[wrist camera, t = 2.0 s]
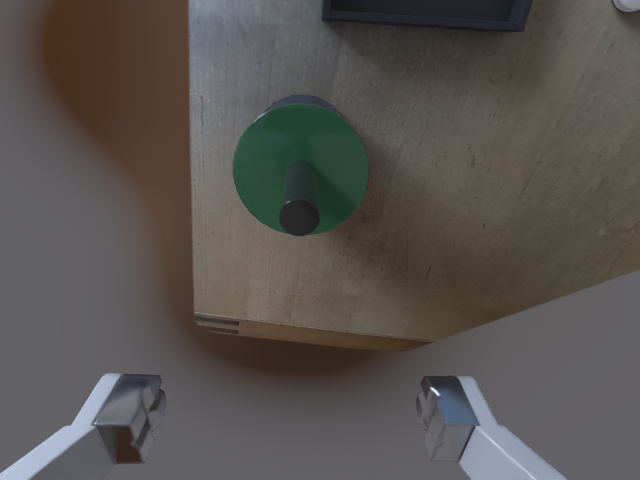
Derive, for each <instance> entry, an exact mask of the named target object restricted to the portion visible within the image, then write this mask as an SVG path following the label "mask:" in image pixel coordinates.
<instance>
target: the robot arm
mask: <svg viewBox="0 0 640 480" xmlns="http://www.w3.org/2000/svg"><path fill="white" fill-rule="evenodd" d="M161 383H162V381H161V378H160V375H143V374H105V375H104V376H103V377H102V378H101V379H100V380H99V382H98V384H97V385H96V387H95V388H94V390H93V391H92V393H91V395H90V396H89V398H88V400H87V401H86V403H85V404H84V406H83V407H82V409H81V411H80V412H79V414H78V415H77V417H76V418H75V420H74V422H73V423H72V425H71V426H65V427H63V428H62V429H61V430H59V431H58V432H56V433H55V434H54V435H52V436H51V437H50V438H49V439H47V440H46V441H44V442H43V443H42V444H40V445H39V446H37V447H36V448H35V449H33V450H32V451H31V452H29V453H28V454H27V455H25V456H24V457H22V458H21V459H20V460H18V461H17V462H16V463H14V464H13V465H11V466H10V467H9V468H8V469H6V470H5V471H3V472H2V473H1V474H0V480H102V479H103V478H104V477H105V476H106V475H107V473H108V472H109V471H110V470H111V469H112V468H113V467H114V464H135V463H136V464H138V463H145V462H146V460H147V458H148V455H149V453H150V450H151V447H152V445H153V442H154V436H153V433H152V432H153V431H154V430H155V429H156V428H157V427H158V426H160V424H161V422H162V419H163V416H164V412H165V407H166V396H165V392H164V391H163V390H161V389H160V386H161ZM421 387H422V390H421V391H420V392H419V393H418V394H417V398H416V411H417V417H418V421H419V424H420V425H421V427H423V428H424V430H426V434H425V437H424V441H425V444H426V447H427V451H428V454H429V457H430V461H432V462H433V461H434V462H459V465H460V466H461V467H462V469H463V470H464V471H465V472H466V473H467V474H468V476H469V477H470V478H471V479H472V480H567V479H566V478H565V477H563V476H562V475H561V474H560V473H559V472H558V471H556V470H555V469H554V468H553V467H552V466H550V465H549V464H548V463H547V462H546V461H544V460H543V459H542V458H541V457H540V456H539V455H537V454H536V453H535V452H534V451H533V450H532V449H530V448H529V447H528V446H527V445H526V444H524V443H523V442H522V441H521V440H520V439H518V438H517V437H516V436H515V435H514V434H512V433H511V432H510V431H509V430H508V429H507V428H505V427H504V426H498V424H497V422H496V420H495V418H494V416H493V414H492V412H491V410H490V408H489V406H488V404H487V402H486V401H485V398H484V396H483V395H482V393H481V391H480V389H479V387H478V385H477V383H476V381H475V379H474V378H473V377H471V376H424V377H423V378H422V381H421Z"/></svg>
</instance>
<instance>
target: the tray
mask: <svg viewBox="0 0 640 480" xmlns="http://www.w3.org/2000/svg"><path fill="white" fill-rule="evenodd" d="M531 3H532V0H323V2H322V21H335V22H351V23H367V24H383V25H398V26H414V27H430V28H446V29H462V30H478V31H494V32H520V31H523V30H524V27H525V23H526V20H527V17H528V13H529V10H530V6H531Z"/></svg>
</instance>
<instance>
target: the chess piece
mask: <svg viewBox="0 0 640 480" xmlns="http://www.w3.org/2000/svg"><path fill="white" fill-rule="evenodd" d="M613 3H614V4H615V6H616V7H617V8H618V9H620V10H622V11H625V12H633V11H637V10H640V0H613Z"/></svg>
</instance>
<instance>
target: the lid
mask: <svg viewBox="0 0 640 480" xmlns="http://www.w3.org/2000/svg"><path fill="white" fill-rule="evenodd" d="M233 177H234V183H235V186H236V190H237V192H238V195H239V197H240V199H241V200H242V202H243V204H244V205H245V207H246V208H247V209H248V211H249V212H250V213H251V214H252V215H253V216H254V217H255V218H256V219H258V220H259V221H260V222H262V223H263V224H265V225H266V226H268V227H270V228H272V229H274V230H277V231H280V232H283V233H287V234H291V235H294V236H305V235H311V234H317V233H321V232H324V231H327V230H329V229H332V228H333V227H335V226H337V225H339V224H340V223H342V222H343V221H344V220H346V219H347V218H348V217H349V216H350V215H351V214H352V213H353V212H354V210H355V209H356V208H357V206H358V205H359V203H360V202H361V200H362V198H363V196H364V193H365V191H366V188H367V183H368V177H369V164H368V158H367V153H366V150H365V147H364V145H363V143H362V141H361V139H360V137H359V135H358V134H357V132H356V131H355V130H354V128H353V127H352V126H351V125H350V124H349V123H348V122H347V121H346V120H345V119H344V118H342V117H341V116H340V115H338V114H337V113H335V112H333V111H332V110H329V109H327V108H325V107H322V106H318V105H315V104H309V103H291V104H285V105H281V106H278V107H275V108H273V109H271V110H268V111H266V112H265V113H263V114H262V115H260V116H259V117H258V118H256V119H255V120H254V121H253V122H252V123H251V124H250V125H249V126H248V128H247V129H246V130H245V131H244V133H243V135H242V136H241V138H240V140H239V142H238V144H237V147H236V150H235V154H234V159H233Z"/></svg>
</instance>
